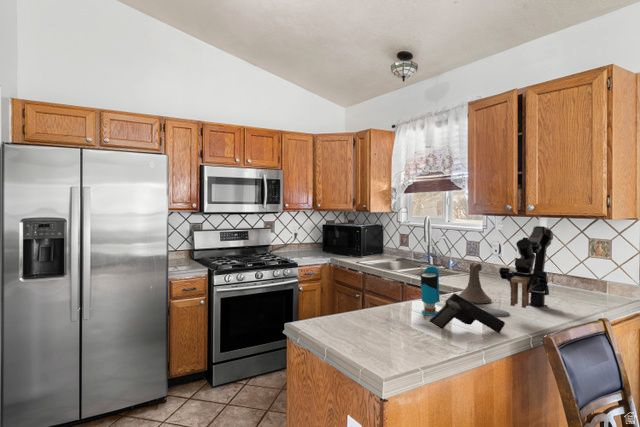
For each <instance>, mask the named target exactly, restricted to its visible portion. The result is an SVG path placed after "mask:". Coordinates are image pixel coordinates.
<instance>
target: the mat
mask: <svg viewBox="0 0 640 427" xmlns="http://www.w3.org/2000/svg"><path fill="white" fill-rule="evenodd" d="M484 310H485V311H486V312H488V313H490V314H492V315H493V316H495V317H497V318H507V317H510V315H511V314H510V312H508V311H507V310H503V309H498V308H485V309H484Z"/></svg>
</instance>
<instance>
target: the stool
mask: <svg viewBox="0 0 640 427" xmlns="http://www.w3.org/2000/svg"><path fill="white" fill-rule="evenodd" d="M519 284H521V308H523V309H526V308H527V307H529V306H530V305H529V303H530V293H529V292H528V293H527V292H526V291H527V287H528V284H529V278H523V277H517V276H514V277H513V278H511V287H510V306H511V307H515V305H518V304H519Z"/></svg>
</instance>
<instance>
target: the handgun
mask: <svg viewBox="0 0 640 427" xmlns="http://www.w3.org/2000/svg"><path fill="white" fill-rule="evenodd" d="M444 303H445V305H444V306H443V307H441V309H439V310H438V312H437V313H436V314H435V315H432V317H430V318H429V320H428V321H429V323H431V324H433V325H434V326H436V327H437V328H440V329H441V330H442V329H444V328H445V327H446V326H447V325H448V324H450V322H451V321H453V319H456V320H458V321H460V322H461V323H463V324H465V325H473V323H474V322H475V321H476V322H477V321H478V322H479V323H481V324H482V325H484V326H486V327H488V328H489V329H491V330H493V331H494V332H496V333H497V334H499V333H501V331H502V329H503V328H504V326H505V325H506V322H505V321H504V320H502V319H500V318H499V317H496V316H493V315H492V314H490V313H488V312H486V311H485V309H482V308H481V307H479V306H478V305H477V304H473V303H471V302H469V301H467V300H466V299H464V298H462V297H460V296H459V294H457V293H455V292H454V293H453V294H452V295H450V296H449V297H448V298H447V299H446V300H445V302H444Z"/></svg>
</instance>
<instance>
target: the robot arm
mask: <svg viewBox="0 0 640 427" xmlns="http://www.w3.org/2000/svg"><path fill="white" fill-rule="evenodd" d="M553 239H554V234H553V231H552V230H551V229H548V228H546V226H544V225H543V226H541V225H540V226H539V225H536V226H534V227H533V229H532V232H531V233H530V235H529V236H528V237H522V239H519V240H517V241H516V244H515V245H516V247H517V251H518V254H519V255H520V257H517V258H515V261H514V266H515V271H513V270H512V269H511V268H510V267H503V266H502V267H499V270H498V272H499V275H500V278H501V279H502V280H506V281H508V282H509V286H510V288H511V278H513V277H523V278H529V284H528V287H527V291H526V292H527V293H528V292H529V294H530V296H529V306H533V307H537V308H546V307H548V304H545V302H546V300H545V297H546V296H549V295H550V289H549V285H548V282H549V277H548V273H547V272H546V271H545V267H546V266H545V264H546V257H547V256H546V255H547V249H548V248H549V246H551V244H552V241H553Z"/></svg>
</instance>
